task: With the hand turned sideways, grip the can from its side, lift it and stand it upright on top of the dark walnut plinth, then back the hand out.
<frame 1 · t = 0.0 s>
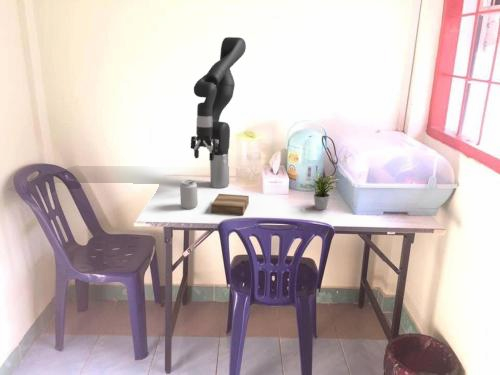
hand: (203, 159, 209), 17 cm above the table, tool pointing down, fingers open, 8 cm apart
house plant: (320, 209, 196), on the table
plinth: (230, 208, 195), on the table
can: (189, 207, 197), on the table
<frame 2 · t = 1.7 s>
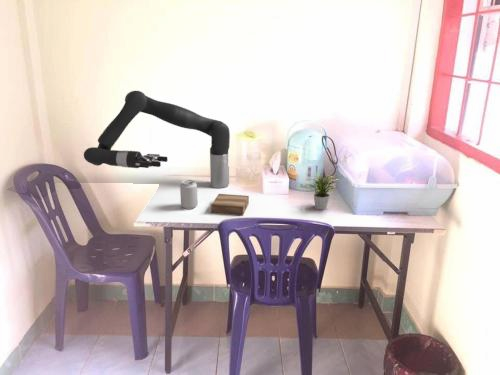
hand: (163, 161, 192), 20 cm above the table, tool horizontal, fingers open, 8 cm apart
nothing on the table moved.
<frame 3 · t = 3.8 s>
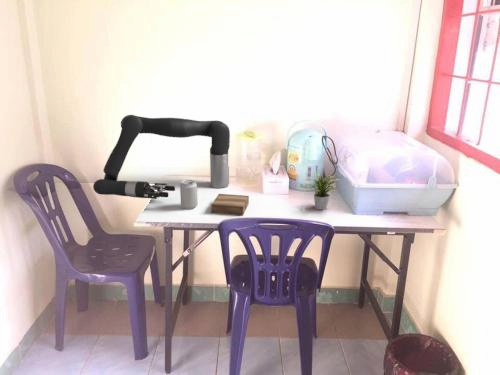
hand: (171, 191, 196), 7 cm above the table, tool horizontal, fingers open, 8 cm apart
nothing on the table moved.
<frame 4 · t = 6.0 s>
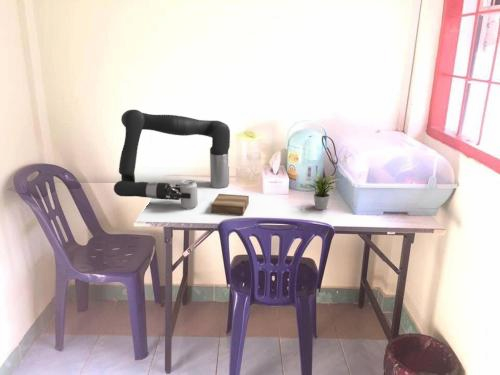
hand: (193, 193, 194), 7 cm above the table, tool horizontal, fingers closed on can, 7 cm apart
can: (189, 207, 197), on the table, touching gripper
everything else where it was.
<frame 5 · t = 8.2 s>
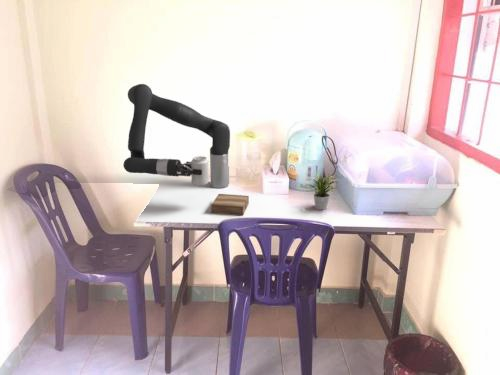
hand: (204, 169, 190), 18 cm above the table, tool horizontal, fingers closed on can, 7 cm apart
can: (200, 184, 193), point 11 cm above the table, touching gripper
everything else where it was.
when the fingers open (12 cm above the table, at t = 10.8 s): can drops 1 cm, resting on plinth.
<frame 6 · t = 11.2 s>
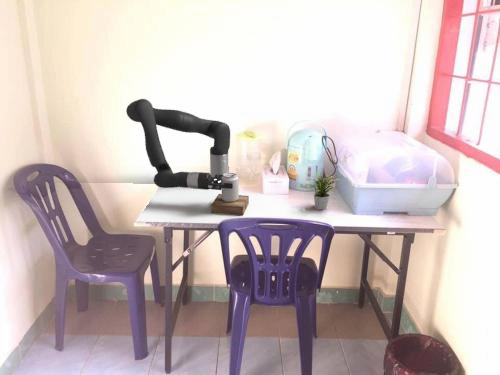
hand: (234, 183, 191), 12 cm above the table, tool horizontal, fingers open, 8 cm apart
can: (230, 200, 194), point 4 cm above the table, touching plinth
everything else where it was.
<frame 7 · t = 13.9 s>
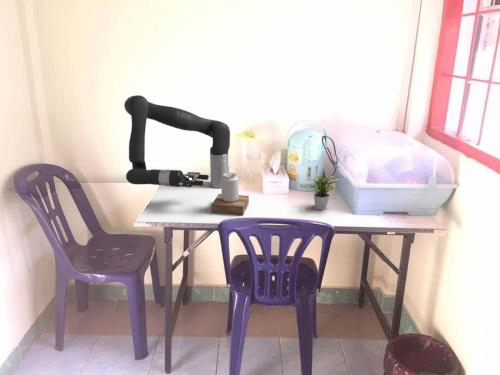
hand: (205, 180, 193), 12 cm above the table, tool horizontal, fingers open, 8 cm apart
nothing on the table moved.
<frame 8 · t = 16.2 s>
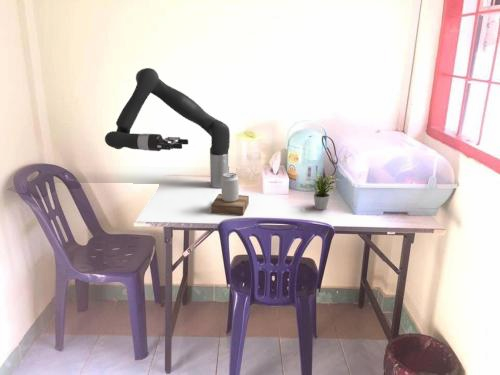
hand: (185, 144, 191), 28 cm above the table, tool horizontal, fingers open, 8 cm apart
nothing on the table moved.
at the end: can inside the target area on the plinth (0.1 cm from its centre), point 3.8 cm above the plinth's base; can tilted 0°; the gripper is holding nothing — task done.
